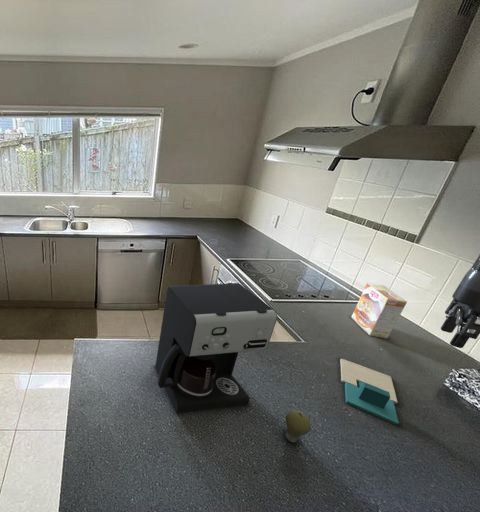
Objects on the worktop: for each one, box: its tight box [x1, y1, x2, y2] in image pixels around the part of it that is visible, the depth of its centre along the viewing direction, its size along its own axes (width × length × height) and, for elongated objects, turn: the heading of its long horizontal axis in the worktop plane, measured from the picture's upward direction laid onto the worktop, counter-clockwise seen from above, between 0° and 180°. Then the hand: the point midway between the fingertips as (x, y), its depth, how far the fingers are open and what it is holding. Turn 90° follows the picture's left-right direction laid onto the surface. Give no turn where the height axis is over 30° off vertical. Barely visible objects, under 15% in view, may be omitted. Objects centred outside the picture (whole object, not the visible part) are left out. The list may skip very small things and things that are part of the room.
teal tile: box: [344, 381, 400, 426], centre depth 90 cm, size 12×14×6 cm
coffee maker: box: [154, 282, 278, 414], centre depth 87 cm, size 28×20×35 cm
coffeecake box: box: [351, 282, 408, 339], centre depth 126 cm, size 15×7×20 cm, turn 164°
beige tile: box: [339, 358, 399, 405], centre depth 99 cm, size 14×14×2 cm
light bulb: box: [285, 409, 312, 443], centre depth 76 cm, size 6×6×10 cm
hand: (450, 338), depth 78 cm, fingers open, 8 cm apart
